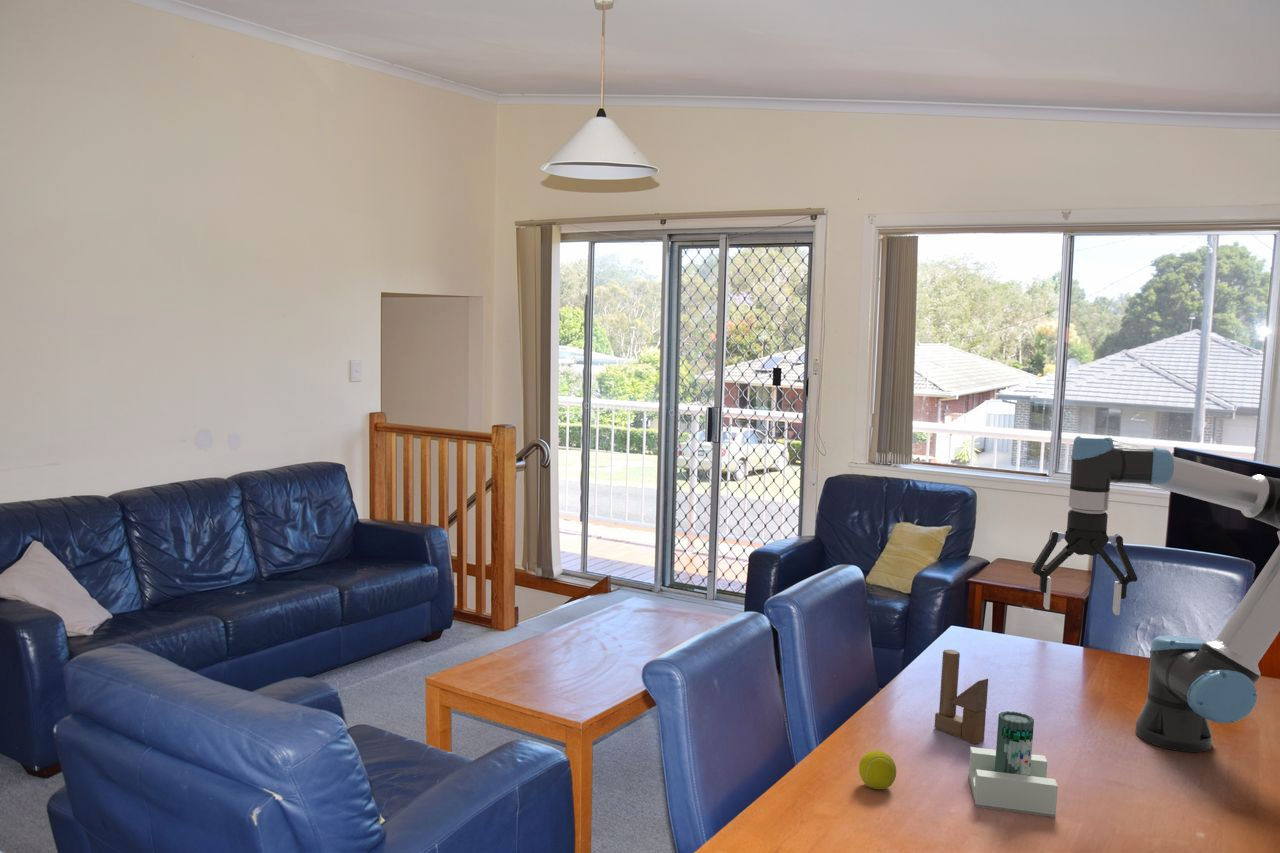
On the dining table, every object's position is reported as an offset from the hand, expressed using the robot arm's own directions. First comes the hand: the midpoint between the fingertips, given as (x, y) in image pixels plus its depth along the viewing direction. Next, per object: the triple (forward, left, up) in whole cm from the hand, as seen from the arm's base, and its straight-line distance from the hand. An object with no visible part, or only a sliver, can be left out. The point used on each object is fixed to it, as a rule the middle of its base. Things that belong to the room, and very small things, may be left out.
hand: (1080, 610), depth 211 cm
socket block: (+15, +24, -32) cm, 42 cm away
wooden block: (+22, -5, -32) cm, 39 cm away
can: (+15, +24, -31) cm, 42 cm away
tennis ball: (+40, +28, -32) cm, 58 cm away
